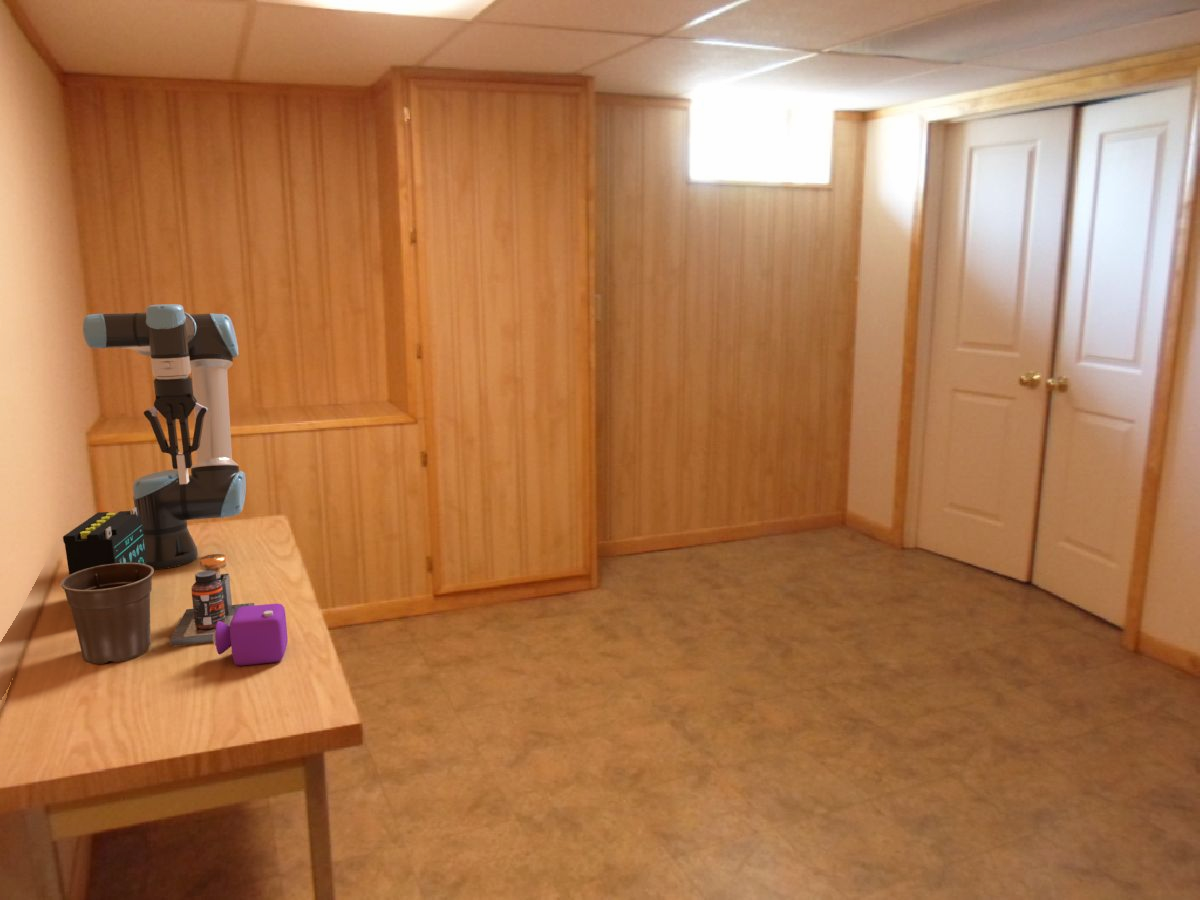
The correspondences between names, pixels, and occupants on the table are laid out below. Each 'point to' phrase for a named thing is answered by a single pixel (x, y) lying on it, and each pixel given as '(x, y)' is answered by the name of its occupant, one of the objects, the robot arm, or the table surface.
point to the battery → (106, 541)
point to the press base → (193, 635)
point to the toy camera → (254, 634)
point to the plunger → (213, 563)
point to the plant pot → (111, 610)
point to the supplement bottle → (207, 600)
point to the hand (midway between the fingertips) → (184, 482)
